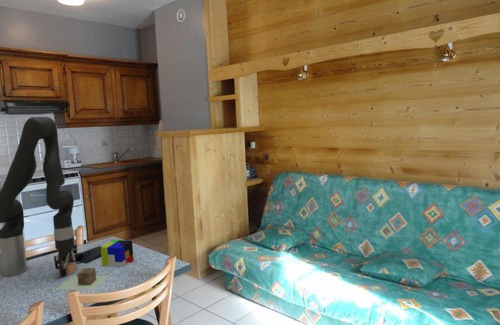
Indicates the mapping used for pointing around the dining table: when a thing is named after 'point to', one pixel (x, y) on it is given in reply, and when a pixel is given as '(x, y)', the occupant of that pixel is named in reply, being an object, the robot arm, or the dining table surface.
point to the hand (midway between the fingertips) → (68, 273)
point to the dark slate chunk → (88, 255)
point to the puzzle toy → (117, 253)
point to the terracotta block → (69, 268)
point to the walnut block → (86, 276)
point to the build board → (73, 284)
